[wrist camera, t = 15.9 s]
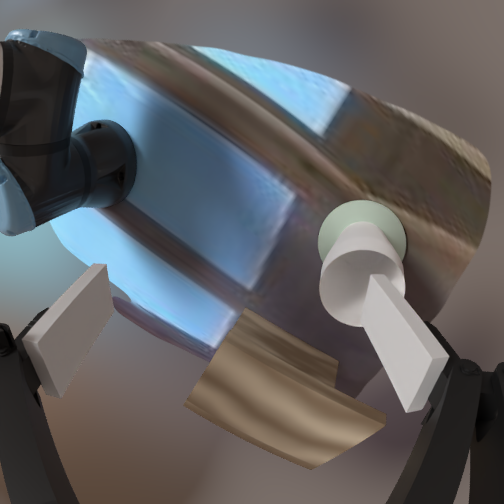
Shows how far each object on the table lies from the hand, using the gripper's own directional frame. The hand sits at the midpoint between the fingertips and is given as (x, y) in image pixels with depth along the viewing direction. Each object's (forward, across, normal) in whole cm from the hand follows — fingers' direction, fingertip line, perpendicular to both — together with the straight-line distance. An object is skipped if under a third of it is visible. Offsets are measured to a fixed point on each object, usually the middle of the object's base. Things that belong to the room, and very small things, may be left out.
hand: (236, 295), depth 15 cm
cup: (+24, +16, -6) cm, 29 cm away
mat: (+24, +16, -6) cm, 30 cm away
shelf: (+27, +11, -17) cm, 34 cm away
